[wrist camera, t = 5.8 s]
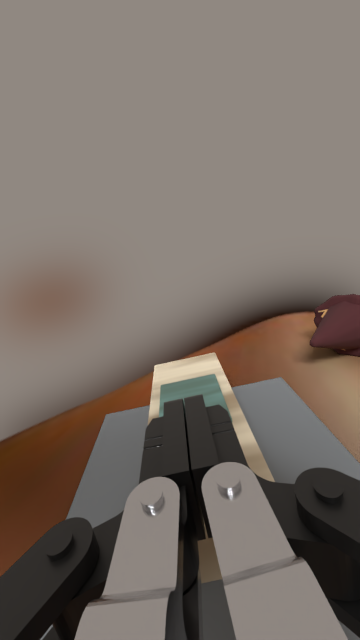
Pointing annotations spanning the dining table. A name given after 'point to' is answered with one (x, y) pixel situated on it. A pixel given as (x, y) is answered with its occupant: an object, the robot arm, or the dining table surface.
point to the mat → (275, 445)
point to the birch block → (213, 384)
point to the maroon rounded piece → (338, 325)
